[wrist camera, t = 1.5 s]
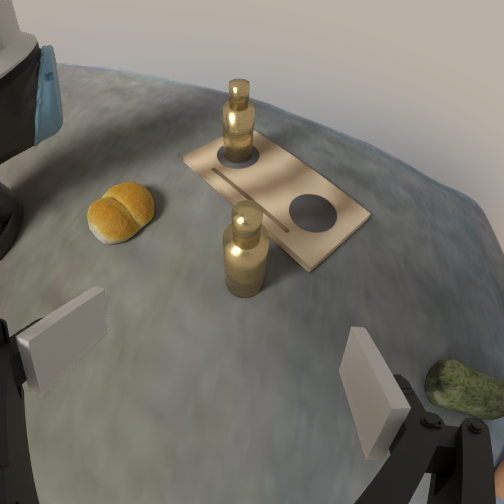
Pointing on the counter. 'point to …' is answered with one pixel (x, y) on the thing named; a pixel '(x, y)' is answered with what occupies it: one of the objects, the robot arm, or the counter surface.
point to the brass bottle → (245, 249)
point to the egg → (499, 480)
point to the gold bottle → (238, 123)
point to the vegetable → (465, 390)
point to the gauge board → (283, 197)
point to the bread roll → (120, 212)
